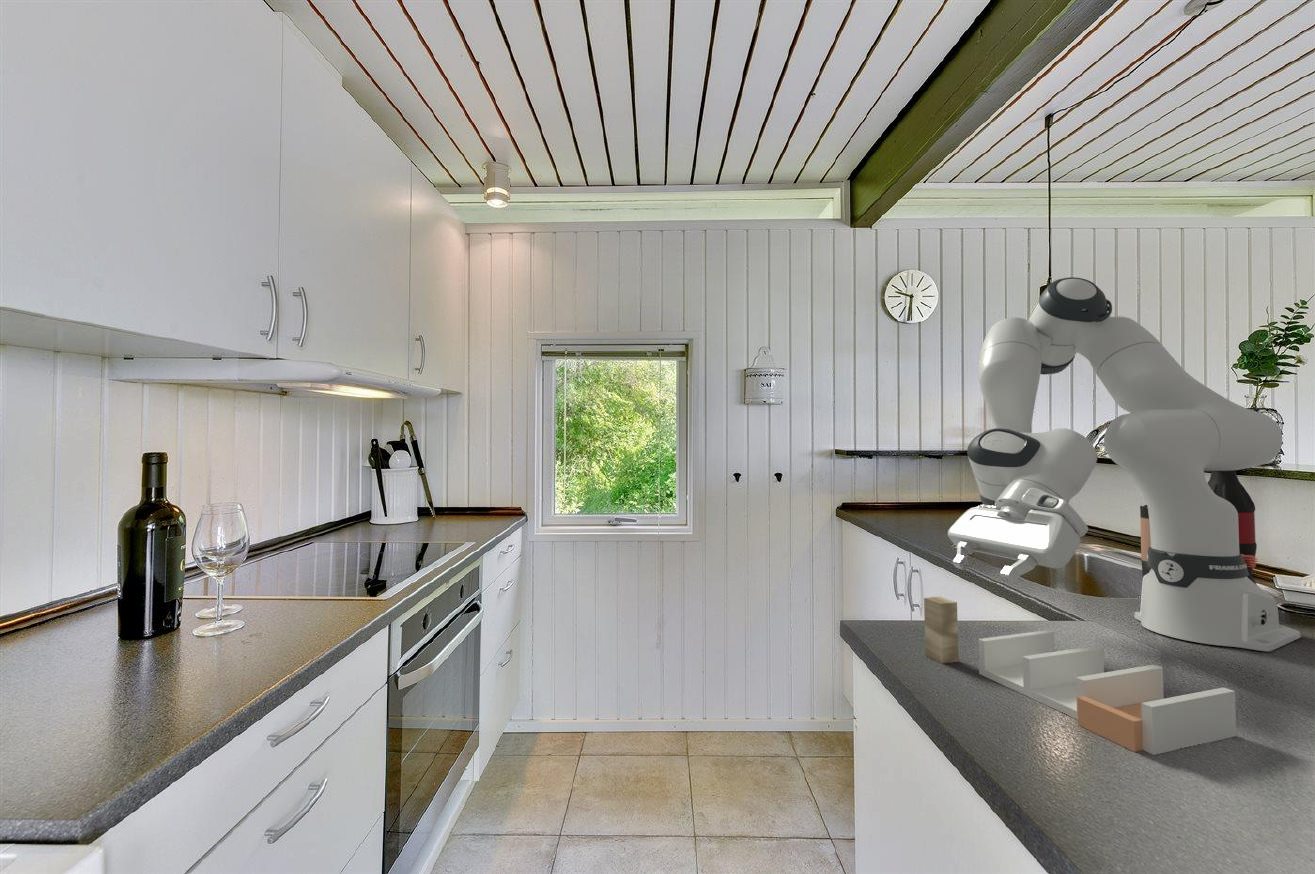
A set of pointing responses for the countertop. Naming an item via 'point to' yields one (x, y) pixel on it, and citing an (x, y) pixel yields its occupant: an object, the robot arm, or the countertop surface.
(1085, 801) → the countertop surface
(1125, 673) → the rack
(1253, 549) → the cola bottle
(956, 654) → the block
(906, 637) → the countertop surface
